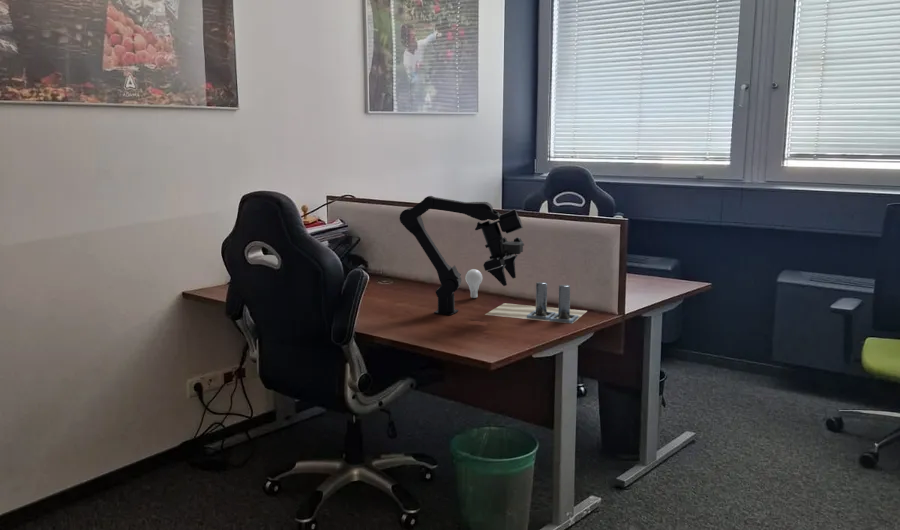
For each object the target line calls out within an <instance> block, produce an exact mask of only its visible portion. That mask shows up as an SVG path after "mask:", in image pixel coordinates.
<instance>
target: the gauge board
mask: <svg viewBox="0 0 900 530" xmlns="http://www.w3.org/2000/svg"><path fill="white" fill-rule="evenodd" d="M558 311H559V307H550V306H547V317H546V316H536V305H529V304H528V305H526V304H515V303H504V302H503V303H502V304H500V305H499V306H497V307H495V308H493V309H492V310H490V311H488V312H487V313H485V314H484V315H485V316H493V317H494V316H495V317H504V318H513V319H523V320H533V321H544V322H555V323H563V324H564V323H565V324H574V323H576V322H577V321H578V320H579V319H580V318H581V317H583V315H585V314H586V313H587V312H588V310H584V309H583V310H582V309H571V308H570V320H569V319H558Z"/></svg>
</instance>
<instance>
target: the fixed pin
mask: <svg viewBox="0 0 900 530" xmlns="http://www.w3.org/2000/svg"><path fill="white" fill-rule="evenodd" d="M558 308H559V311H558V319H569V320H570V309H571V285H569V284H559V285H558Z"/></svg>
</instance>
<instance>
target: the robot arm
mask: <svg viewBox="0 0 900 530" xmlns="http://www.w3.org/2000/svg"><path fill="white" fill-rule="evenodd" d="M430 209H433V210H437V211H438V210H439V211H445V212H451V213H456V214H463V215H466V216H468V217H470V218H473V219H476V220H478V222H476V223H477V224H476V226H475V228H474V230H475V231H479V230H481V232H482V235H483V237H484V239H485V243H486V244H485V245H484V246H485V248H486V249H487V248H488V252H489V254H490V256H489V259H487V260H486V261H484V263H483V265H482V266H483V269H484V271H486V272H487V273H489V274H490V275H491V276H493V277H494V278H495V279H496V280H497V281H498V282H499V283H500V284H501V285H502V286H503V287H505V286H508V283H507V279H506V273H505V270H506V272H507V273H508V274H509V276H510V277H511V278H512V279H516V277H517V276H516V275H517V274H516V267H515V266H516V262H515V261H516V259H517V258H518V256H519V255H520V254H521V253H523V252H524V246H525V243H524V241H522V238H521V237H515V238H514V239H513V240H510V241H508V240H507V238H506V237H505V236H504V237H503V235H502V232H503V233H505V234H506V235H508V234H510V233H514V232H516V231H519V230H522V229H523V228H524V227H523V224H522V220H521V218H520V216H519V214H518V212H517V210H516V208H514V209H512V210H510V211H508V212H505V213H502V214H501V213H500V212H498V211H496V210H495V209H494V208H493V206H492V204H491V203H489V202H488V201H471V202H470V201H469V202H466V201H459V200H454V199H448V198H441V197H435V196H432V195H428V196H426V197H424V198H423V200H421V201H420V202H418V203H417V204H416V205H414V206H413V207H409V208H406V209H403V210H402V211H401V212H400V214H399V222H400V223H401V225H402V226H403V227H405V229H406V230H407V231H408V232H409V233H410V234H412V235H413V236H414V238H415V239H416V241H417V242H418V243H419V245H420V247H421V249H422V250H423V252H424V253H425V255H426V256H427V258H428V259H429V261H430V262H431V264H432V265H433V268H435V270H436V273H437V277H438V280H439V282H440V286H439V287H438V288H437V289H436V290H435V294H436V297H437V310H435V311H433V313H434V314H438V315H446V316H452V315H454V314H455V313H457V312H459V309H455V305H456V304H455V302H456V301H455V292H456V291H457V290H458V289H459V288H460V287H461V285H462V277H461V275H462V273H460V272H459V271H458V269H457V267H456V265H453V266H451V265H449V264H448V263H447V262H446V259H444V257H443V255H442V253H441V252H440V250H439V249H438V248H437V246H436V244H435V242H434V241H433V239H432V238H431V236H430V235H429V233H428V232H427V230H426V228H425V225H424V221H423V218H422V216H423V214H425V213H427V211H429V210H430ZM481 221H482V222H481ZM491 221H492V222H491ZM498 223H499V224H498Z"/></svg>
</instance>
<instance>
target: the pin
mask: <svg viewBox="0 0 900 530" xmlns="http://www.w3.org/2000/svg"><path fill="white" fill-rule="evenodd" d="M535 306H536V316H546V317H547V307H548V282H545V281H538V282H535Z"/></svg>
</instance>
